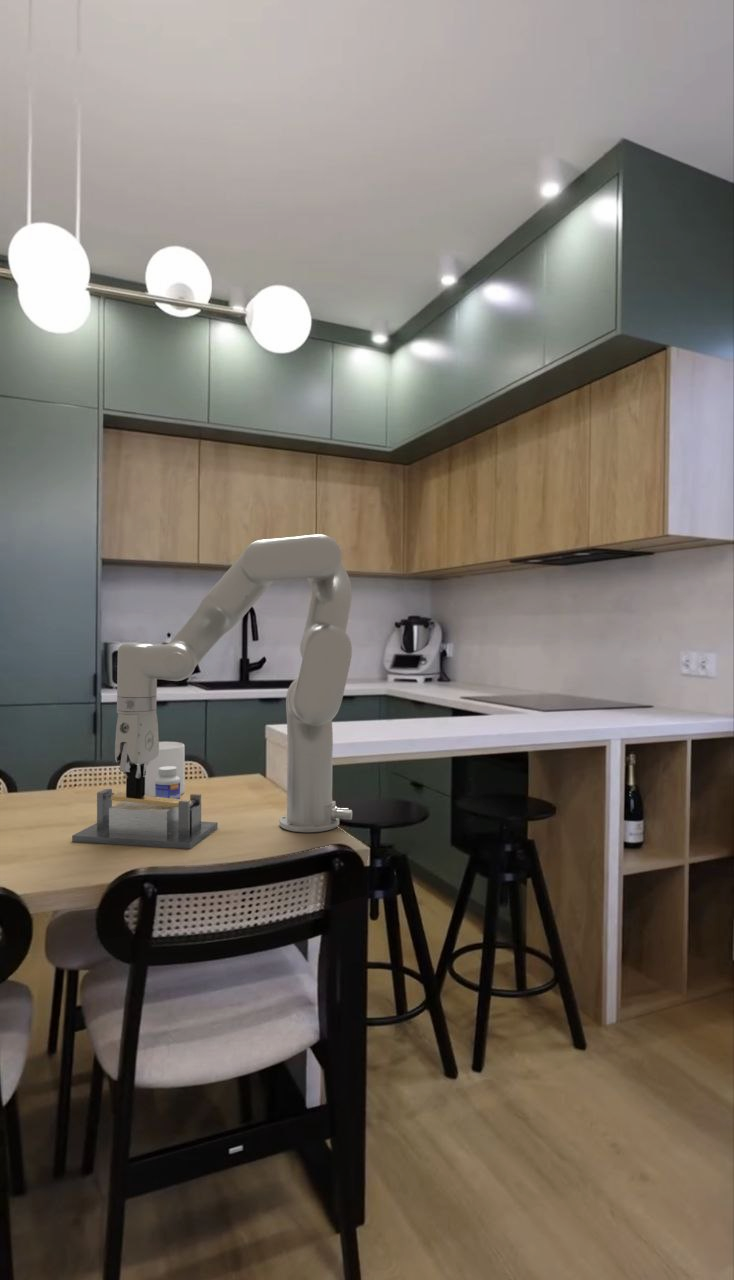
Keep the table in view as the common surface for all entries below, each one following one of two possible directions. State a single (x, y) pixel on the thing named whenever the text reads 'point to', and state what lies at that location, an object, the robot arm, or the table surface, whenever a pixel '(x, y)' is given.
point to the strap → (150, 800)
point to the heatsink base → (144, 839)
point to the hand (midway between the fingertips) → (135, 796)
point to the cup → (167, 757)
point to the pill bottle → (167, 783)
